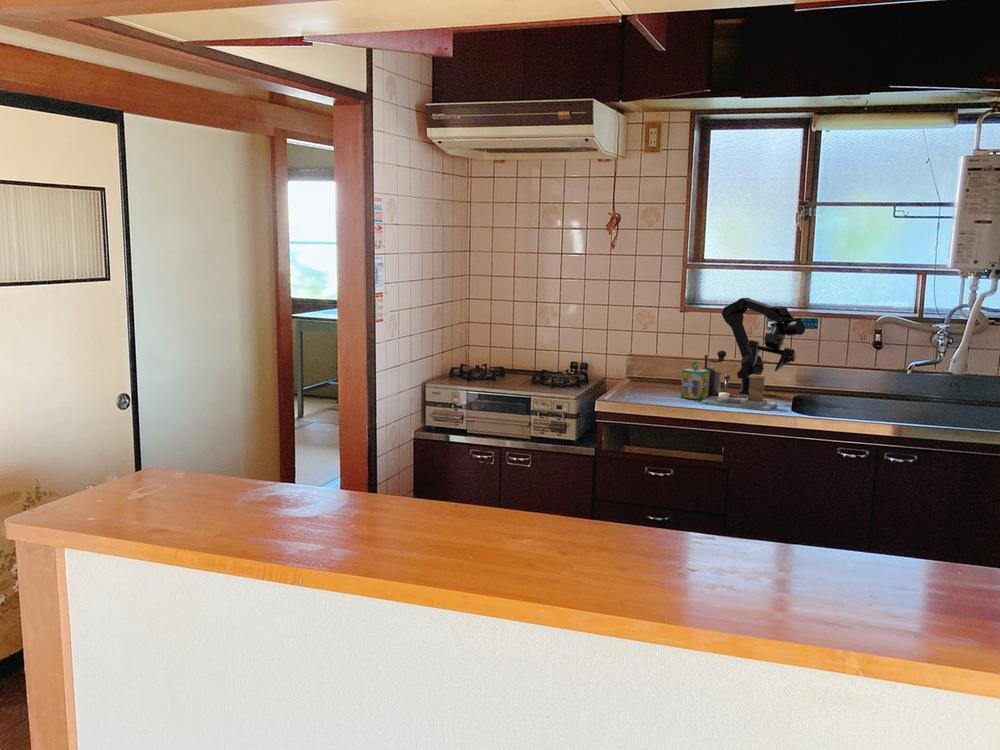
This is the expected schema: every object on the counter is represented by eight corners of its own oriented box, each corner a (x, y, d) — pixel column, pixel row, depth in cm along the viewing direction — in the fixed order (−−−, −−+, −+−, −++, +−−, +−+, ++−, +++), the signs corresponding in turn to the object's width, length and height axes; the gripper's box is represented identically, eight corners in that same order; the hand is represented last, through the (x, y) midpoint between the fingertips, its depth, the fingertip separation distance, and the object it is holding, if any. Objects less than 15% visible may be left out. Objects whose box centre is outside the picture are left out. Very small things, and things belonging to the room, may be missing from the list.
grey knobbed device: (713, 397, 350) (716, 353, 347) (688, 394, 356) (690, 351, 353) (725, 392, 363) (728, 350, 360) (700, 389, 369) (702, 348, 366)
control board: (711, 398, 347) (711, 387, 347) (776, 405, 334) (777, 394, 334) (700, 403, 335) (701, 392, 334) (768, 410, 322) (769, 399, 322)
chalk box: (702, 400, 341) (704, 364, 339) (680, 398, 346) (681, 362, 344) (709, 397, 349) (711, 361, 347) (687, 395, 354) (689, 359, 352)
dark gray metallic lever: (722, 394, 341) (725, 375, 343) (727, 394, 340) (731, 376, 342) (721, 392, 339) (724, 373, 341) (726, 393, 338) (729, 374, 340)
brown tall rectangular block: (749, 401, 336) (751, 374, 334) (763, 402, 333) (764, 375, 332) (747, 402, 333) (749, 375, 331) (761, 403, 330) (763, 376, 329)
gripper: (752, 320, 343) (738, 352, 338) (798, 330, 334) (785, 363, 329) (755, 335, 352) (742, 366, 347) (801, 345, 342) (788, 377, 337)
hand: (764, 368), depth 340 cm, fingers open, 9 cm apart
